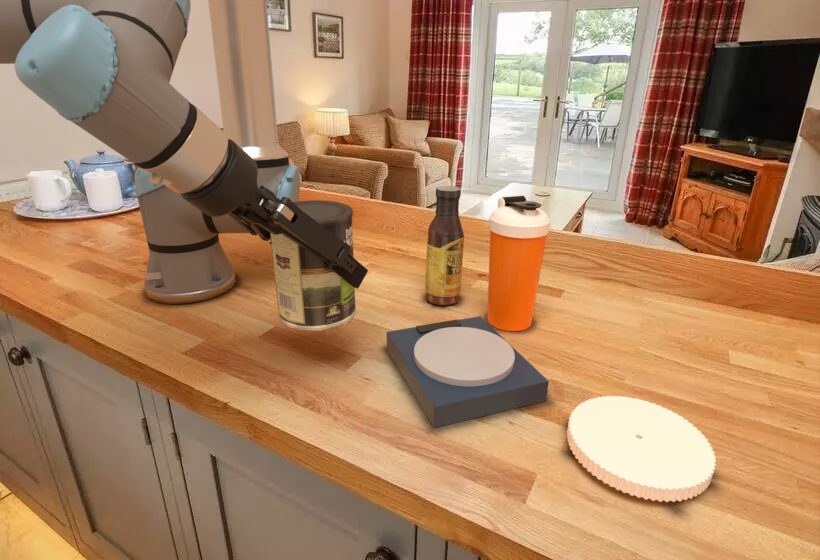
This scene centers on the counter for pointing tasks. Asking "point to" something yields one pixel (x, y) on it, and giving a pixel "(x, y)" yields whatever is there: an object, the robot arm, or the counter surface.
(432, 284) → the sauce bottle
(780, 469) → the counter surface
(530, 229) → the shaker bottle
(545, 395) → the kitchen scale
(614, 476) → the plastic lid
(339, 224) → the coffee can
